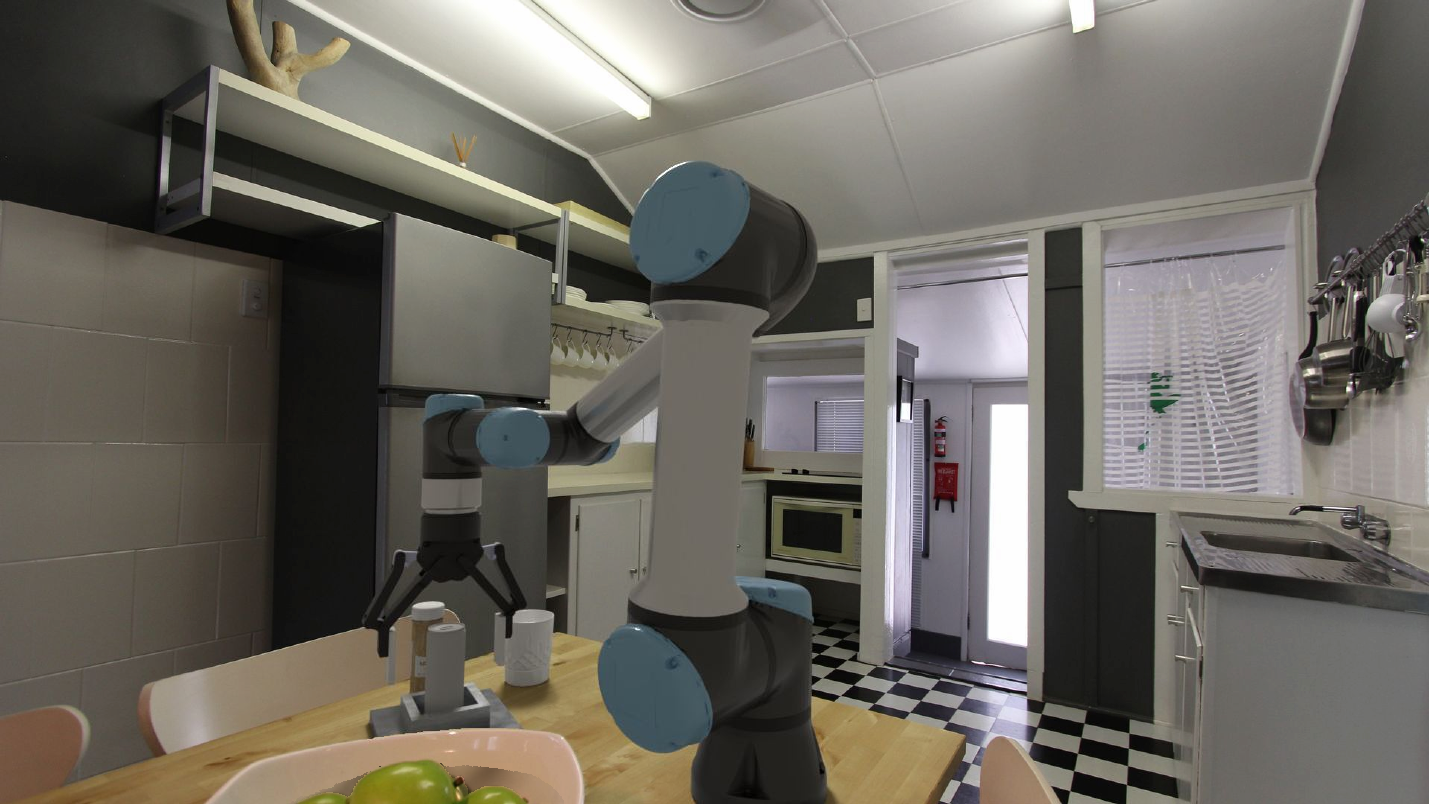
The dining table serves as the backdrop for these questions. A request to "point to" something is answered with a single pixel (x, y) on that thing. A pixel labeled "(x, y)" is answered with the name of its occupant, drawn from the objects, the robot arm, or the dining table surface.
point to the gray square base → (442, 714)
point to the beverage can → (445, 667)
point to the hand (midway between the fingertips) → (446, 672)
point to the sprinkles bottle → (422, 640)
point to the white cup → (529, 648)
